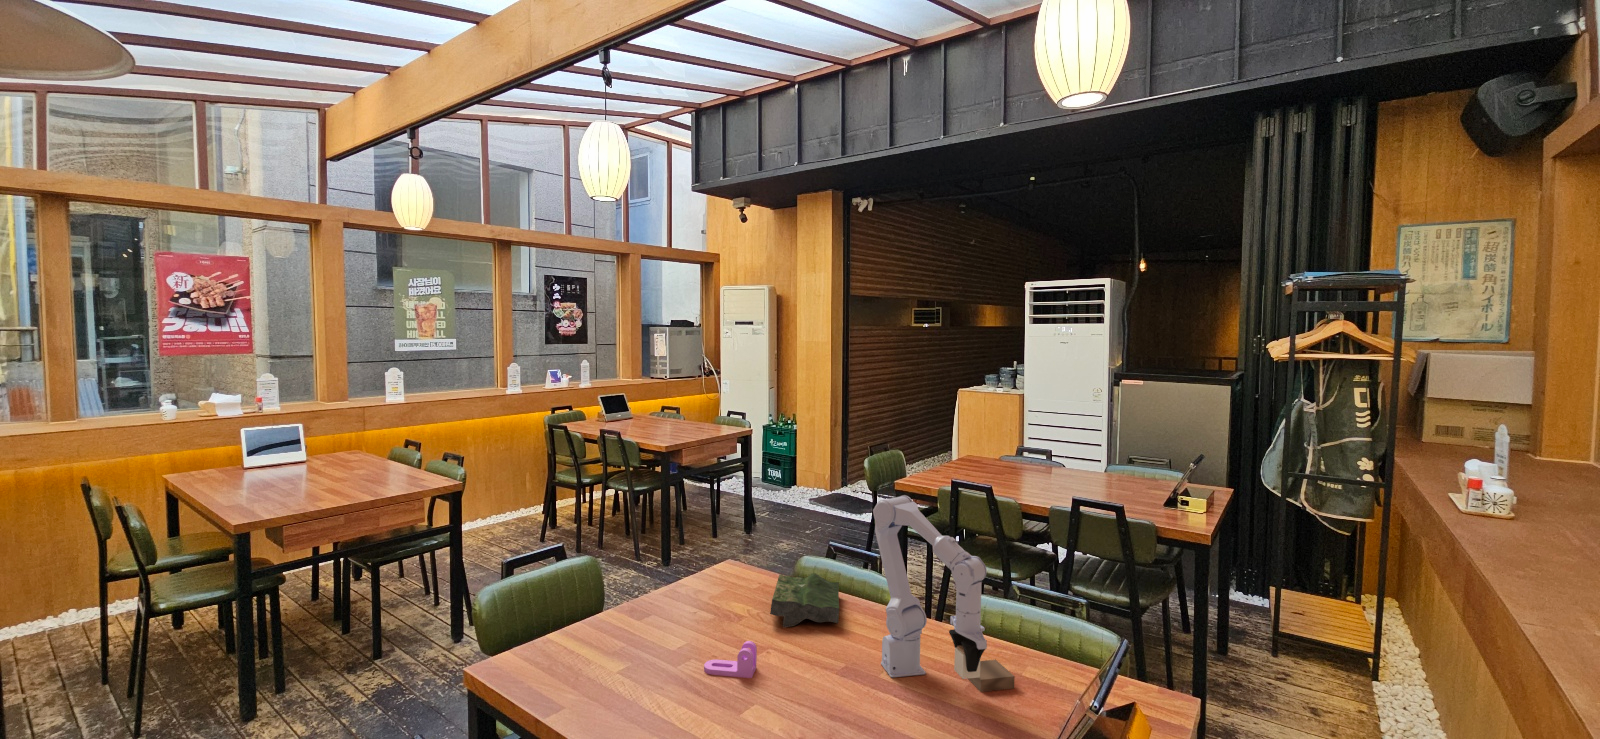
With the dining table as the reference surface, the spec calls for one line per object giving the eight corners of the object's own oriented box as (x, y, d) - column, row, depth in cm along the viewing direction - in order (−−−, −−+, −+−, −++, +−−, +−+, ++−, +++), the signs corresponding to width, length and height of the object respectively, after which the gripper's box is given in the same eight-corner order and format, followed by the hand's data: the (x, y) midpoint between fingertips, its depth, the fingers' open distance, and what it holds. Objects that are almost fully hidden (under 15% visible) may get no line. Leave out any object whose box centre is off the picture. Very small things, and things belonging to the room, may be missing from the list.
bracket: (756, 668, 169) (756, 641, 169) (751, 678, 164) (752, 651, 163) (707, 664, 171) (707, 637, 171) (701, 674, 165) (701, 646, 165)
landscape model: (837, 634, 194) (840, 600, 194) (768, 625, 195) (772, 591, 195) (836, 606, 220) (839, 576, 220) (776, 598, 221) (779, 569, 221)
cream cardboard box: (962, 679, 153) (963, 653, 153) (954, 670, 157) (954, 644, 157) (979, 677, 154) (980, 651, 154) (970, 668, 158) (971, 643, 158)
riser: (980, 691, 158) (980, 679, 158) (963, 674, 167) (963, 662, 167) (1014, 688, 160) (1014, 676, 160) (995, 671, 169) (995, 659, 169)
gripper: (999, 620, 149) (997, 679, 150) (969, 597, 163) (967, 650, 164) (971, 622, 148) (969, 682, 148) (943, 598, 162) (941, 653, 162)
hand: (966, 666), depth 156 cm, fingers closed on cream cardboard box, 4 cm apart
